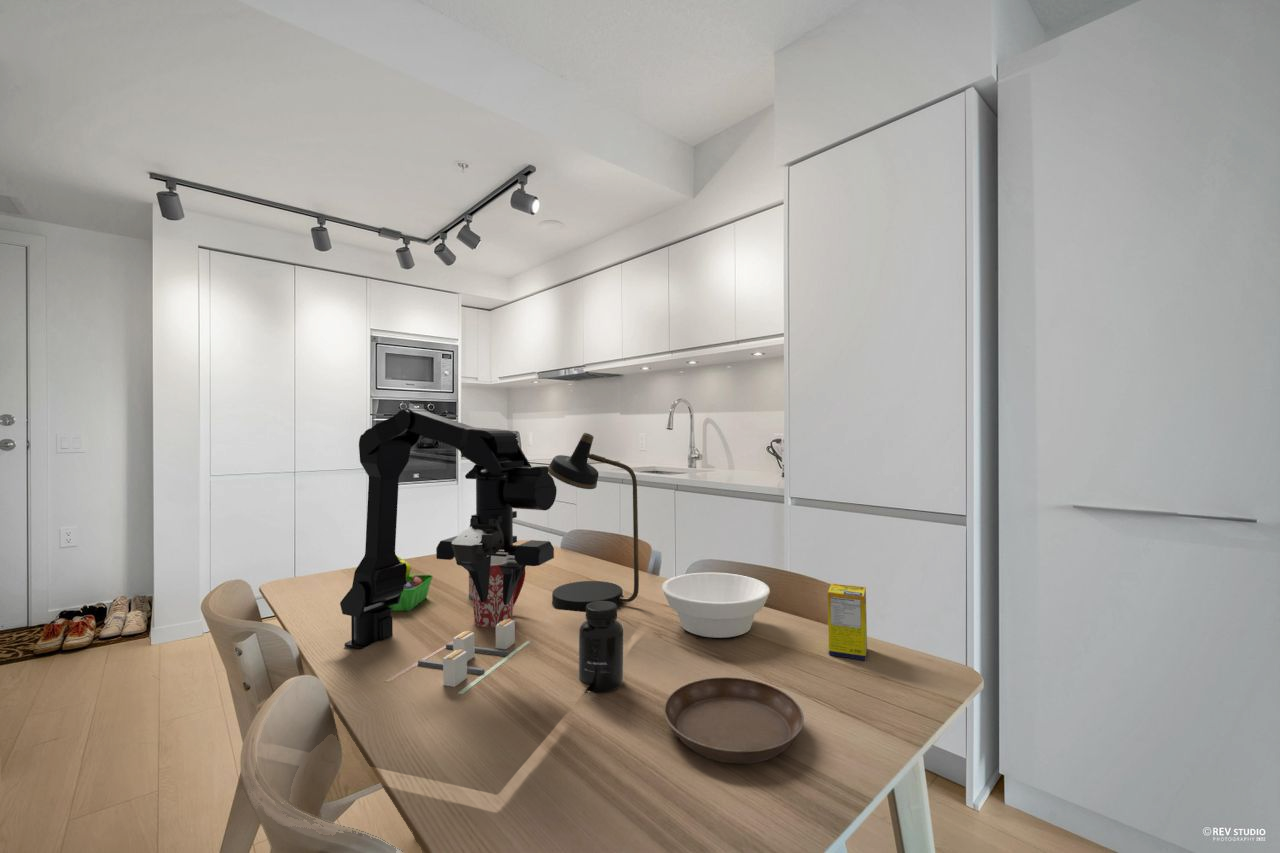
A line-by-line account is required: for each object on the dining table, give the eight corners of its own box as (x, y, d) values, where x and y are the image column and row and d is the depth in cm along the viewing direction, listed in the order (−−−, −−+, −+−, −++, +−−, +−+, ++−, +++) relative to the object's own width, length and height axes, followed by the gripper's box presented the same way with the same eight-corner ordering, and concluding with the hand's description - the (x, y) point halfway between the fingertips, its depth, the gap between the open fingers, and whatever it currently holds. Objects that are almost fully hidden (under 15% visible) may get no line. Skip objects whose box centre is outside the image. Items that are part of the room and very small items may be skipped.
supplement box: (867, 648, 94) (866, 586, 94) (866, 661, 89) (865, 595, 89) (831, 642, 97) (830, 582, 97) (828, 655, 91) (827, 591, 91)
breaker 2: (495, 648, 93) (495, 624, 93) (505, 641, 96) (504, 618, 96) (505, 649, 92) (505, 625, 92) (514, 642, 95) (514, 619, 95)
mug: (489, 639, 100) (488, 567, 100) (460, 628, 105) (459, 560, 106) (539, 619, 110) (539, 554, 110) (510, 611, 116) (510, 548, 116)
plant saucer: (708, 793, 57) (708, 764, 57) (642, 713, 74) (642, 691, 74) (835, 752, 64) (835, 726, 64) (749, 688, 81) (749, 667, 81)
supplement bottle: (588, 698, 77) (588, 615, 77) (572, 679, 83) (571, 602, 83) (631, 687, 80) (630, 608, 81) (612, 669, 87) (611, 595, 87)
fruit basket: (413, 612, 115) (412, 560, 115) (372, 613, 115) (372, 560, 115) (434, 596, 127) (434, 548, 127) (397, 596, 127) (397, 549, 127)
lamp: (568, 587, 132) (567, 432, 133) (651, 596, 125) (649, 432, 125) (533, 607, 117) (532, 433, 118) (624, 619, 110) (623, 432, 110)
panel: (379, 692, 80) (378, 680, 80) (468, 637, 101) (468, 627, 101) (458, 705, 76) (458, 693, 76) (534, 645, 97) (534, 635, 97)
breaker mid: (453, 662, 87) (452, 636, 87) (464, 655, 90) (464, 630, 90) (463, 664, 86) (463, 638, 86) (474, 656, 89) (474, 631, 89)
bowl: (646, 640, 99) (645, 595, 99) (680, 605, 118) (680, 568, 119) (760, 657, 91) (760, 609, 91) (777, 617, 111) (777, 577, 111)
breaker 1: (443, 685, 79) (443, 656, 79) (455, 676, 82) (455, 648, 82) (454, 686, 79) (454, 658, 79) (467, 677, 82) (466, 650, 82)
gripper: (412, 512, 82) (412, 614, 82) (519, 517, 76) (520, 626, 76) (457, 502, 92) (458, 593, 92) (555, 506, 87) (555, 602, 87)
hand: (495, 603), depth 86 cm, fingers open, 4 cm apart
